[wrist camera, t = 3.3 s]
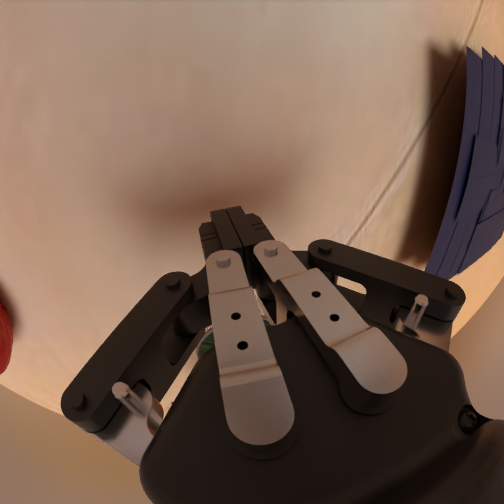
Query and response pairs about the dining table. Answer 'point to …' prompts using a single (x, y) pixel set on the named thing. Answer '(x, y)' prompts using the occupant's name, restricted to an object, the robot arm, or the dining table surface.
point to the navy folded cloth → (475, 174)
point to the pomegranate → (5, 339)
